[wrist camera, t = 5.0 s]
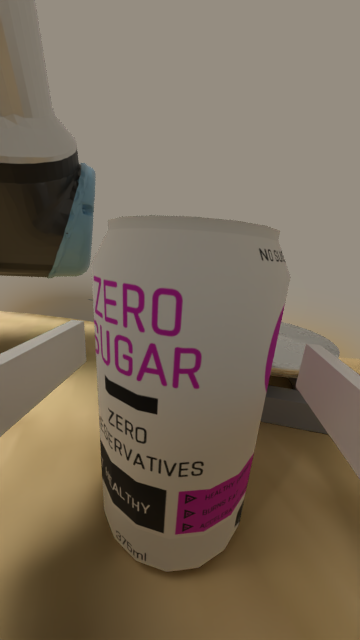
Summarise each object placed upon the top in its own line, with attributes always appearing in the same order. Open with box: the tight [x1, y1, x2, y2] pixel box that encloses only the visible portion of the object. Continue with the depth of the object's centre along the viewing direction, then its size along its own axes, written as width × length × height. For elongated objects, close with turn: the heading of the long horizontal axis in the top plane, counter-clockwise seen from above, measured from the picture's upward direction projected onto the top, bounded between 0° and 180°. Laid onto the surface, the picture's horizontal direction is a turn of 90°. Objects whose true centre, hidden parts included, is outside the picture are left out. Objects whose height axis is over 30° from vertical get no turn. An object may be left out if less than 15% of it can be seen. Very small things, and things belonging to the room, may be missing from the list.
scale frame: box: [261, 378, 328, 434], centre depth 25 cm, size 13×13×3 cm
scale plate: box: [270, 322, 339, 378], centre depth 25 cm, size 14×14×4 cm
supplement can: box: [91, 215, 290, 572], centre depth 11 cm, size 8×8×15 cm
